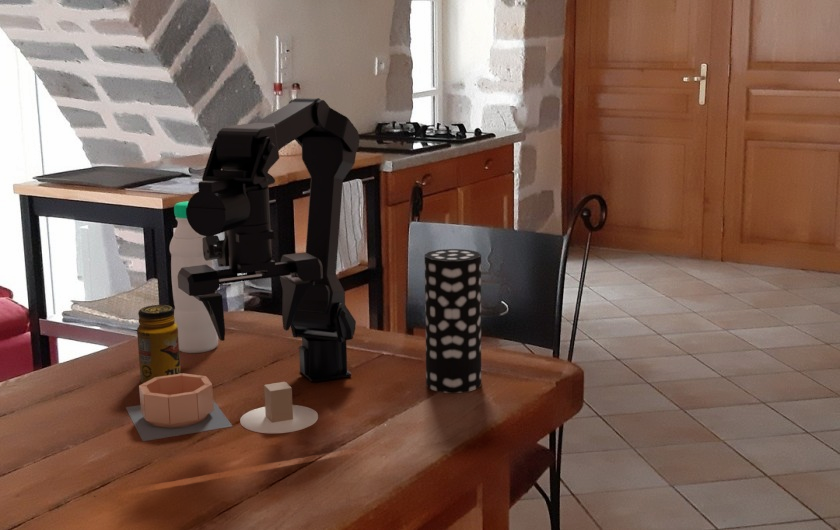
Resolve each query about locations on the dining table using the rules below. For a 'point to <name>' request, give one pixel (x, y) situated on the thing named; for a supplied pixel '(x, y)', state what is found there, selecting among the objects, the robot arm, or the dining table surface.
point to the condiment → (158, 342)
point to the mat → (153, 432)
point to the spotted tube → (453, 320)
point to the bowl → (176, 400)
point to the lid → (278, 412)
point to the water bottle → (189, 311)
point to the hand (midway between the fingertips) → (254, 334)
